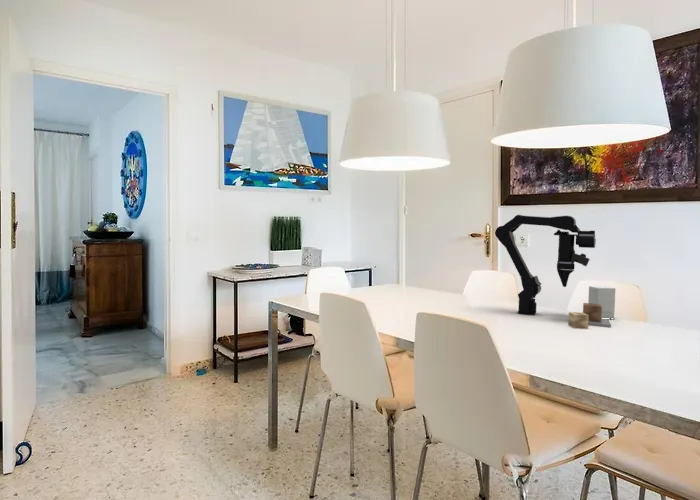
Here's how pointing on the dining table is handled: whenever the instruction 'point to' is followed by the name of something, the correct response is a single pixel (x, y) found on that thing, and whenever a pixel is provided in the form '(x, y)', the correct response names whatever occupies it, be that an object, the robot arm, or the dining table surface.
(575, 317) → the oak cube
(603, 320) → the plate
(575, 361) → the dining table surface
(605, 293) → the supplement box
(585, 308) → the walnut cube
